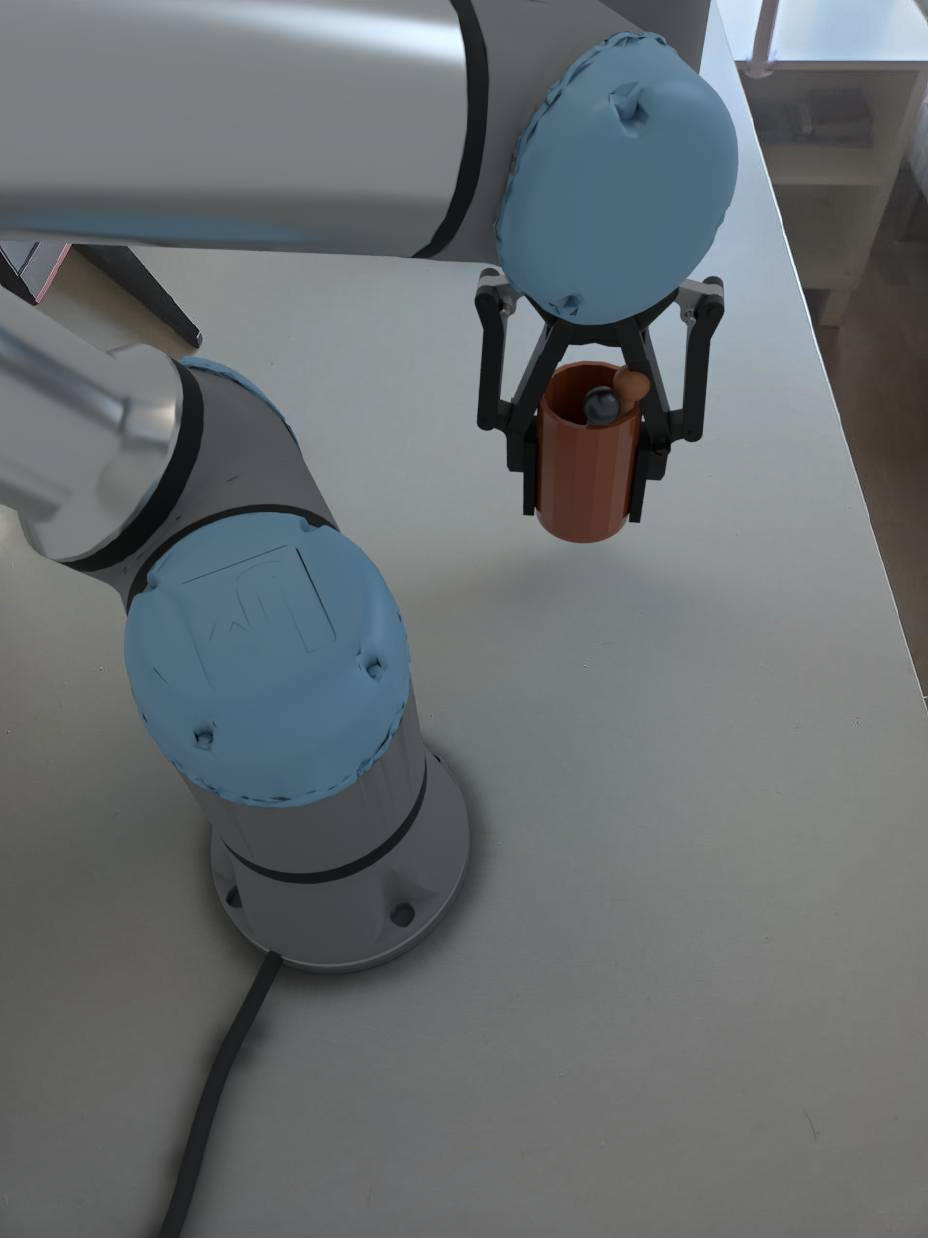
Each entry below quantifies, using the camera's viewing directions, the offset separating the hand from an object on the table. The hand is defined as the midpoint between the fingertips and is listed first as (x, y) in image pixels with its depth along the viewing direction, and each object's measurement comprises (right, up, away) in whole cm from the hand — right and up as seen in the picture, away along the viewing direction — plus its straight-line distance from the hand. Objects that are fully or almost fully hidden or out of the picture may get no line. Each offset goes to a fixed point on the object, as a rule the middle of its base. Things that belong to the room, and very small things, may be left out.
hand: (582, 504), depth 66 cm
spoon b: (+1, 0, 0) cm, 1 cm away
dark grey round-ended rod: (-1, 0, 0) cm, 1 cm away
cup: (0, 0, 0) cm, 0 cm away
